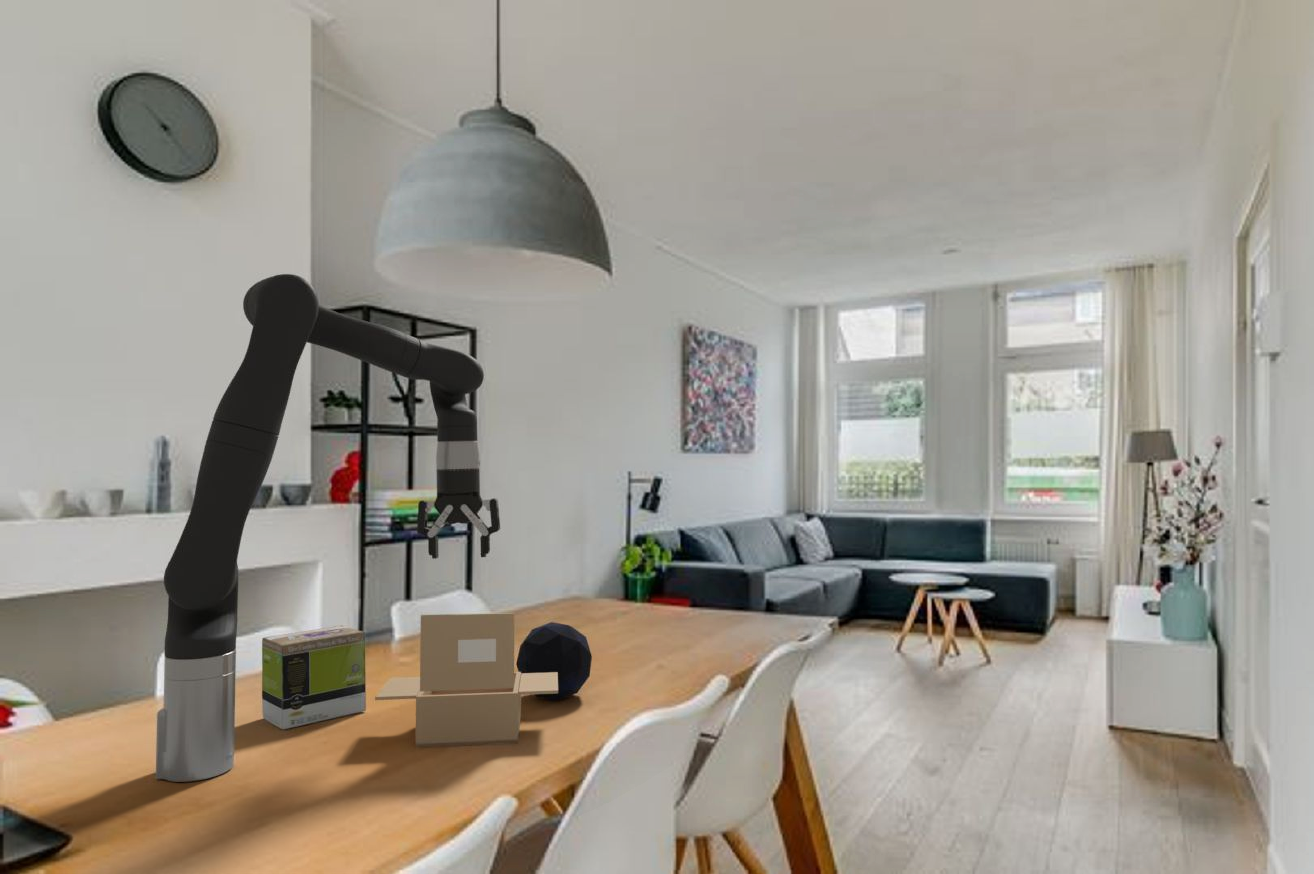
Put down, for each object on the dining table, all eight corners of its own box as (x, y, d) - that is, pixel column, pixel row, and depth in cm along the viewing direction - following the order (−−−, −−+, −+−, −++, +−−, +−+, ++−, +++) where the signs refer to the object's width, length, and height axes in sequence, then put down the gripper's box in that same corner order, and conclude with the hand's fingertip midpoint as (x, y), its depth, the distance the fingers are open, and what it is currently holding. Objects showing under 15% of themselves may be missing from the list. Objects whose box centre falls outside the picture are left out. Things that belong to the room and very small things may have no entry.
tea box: (343, 701, 155) (344, 623, 156) (366, 712, 148) (367, 631, 149) (260, 718, 145) (261, 635, 145) (280, 731, 138) (282, 643, 138)
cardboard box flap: (419, 691, 130) (420, 615, 130) (420, 690, 130) (421, 614, 131) (513, 688, 132) (514, 613, 132) (514, 687, 132) (514, 612, 133)
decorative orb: (507, 660, 165) (515, 608, 157) (578, 654, 170) (590, 604, 162) (516, 720, 154) (526, 667, 146) (593, 711, 159) (606, 660, 151)
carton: (373, 749, 128) (373, 698, 129) (391, 721, 143) (391, 675, 143) (558, 741, 132) (558, 691, 132) (557, 714, 147) (557, 669, 147)
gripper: (412, 468, 142) (414, 561, 141) (495, 466, 143) (497, 558, 142) (422, 467, 149) (423, 556, 149) (500, 465, 150) (502, 553, 150)
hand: (459, 557), depth 146 cm, fingers open, 8 cm apart
